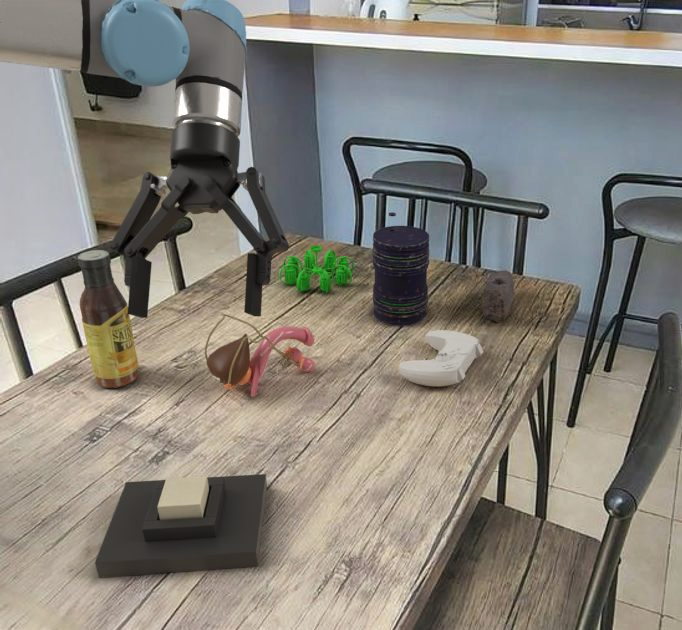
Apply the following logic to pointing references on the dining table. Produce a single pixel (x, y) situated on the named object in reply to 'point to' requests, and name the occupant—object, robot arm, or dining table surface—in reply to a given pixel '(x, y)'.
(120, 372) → the sauce bottle
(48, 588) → the dining table surface
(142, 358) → the dining table surface
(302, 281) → the chandelier
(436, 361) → the game controller
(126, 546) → the stepped tiered pedestal
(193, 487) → the key
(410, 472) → the dining table surface
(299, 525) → the dining table surface
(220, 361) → the anatomy model
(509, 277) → the perforated stone tool
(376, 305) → the storage jar
